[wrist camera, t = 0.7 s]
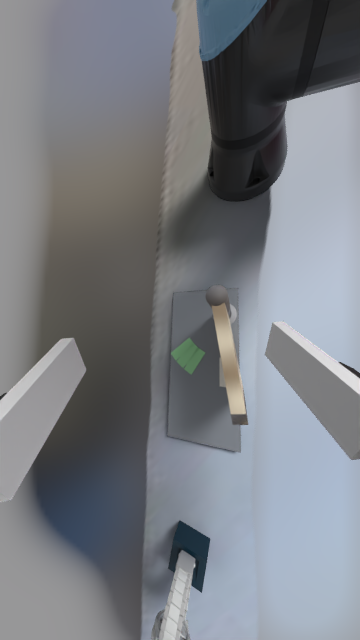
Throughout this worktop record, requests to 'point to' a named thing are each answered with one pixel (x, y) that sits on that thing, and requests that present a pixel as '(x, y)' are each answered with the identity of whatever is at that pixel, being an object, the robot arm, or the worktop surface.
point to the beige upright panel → (228, 353)
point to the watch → (182, 582)
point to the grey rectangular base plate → (200, 373)
